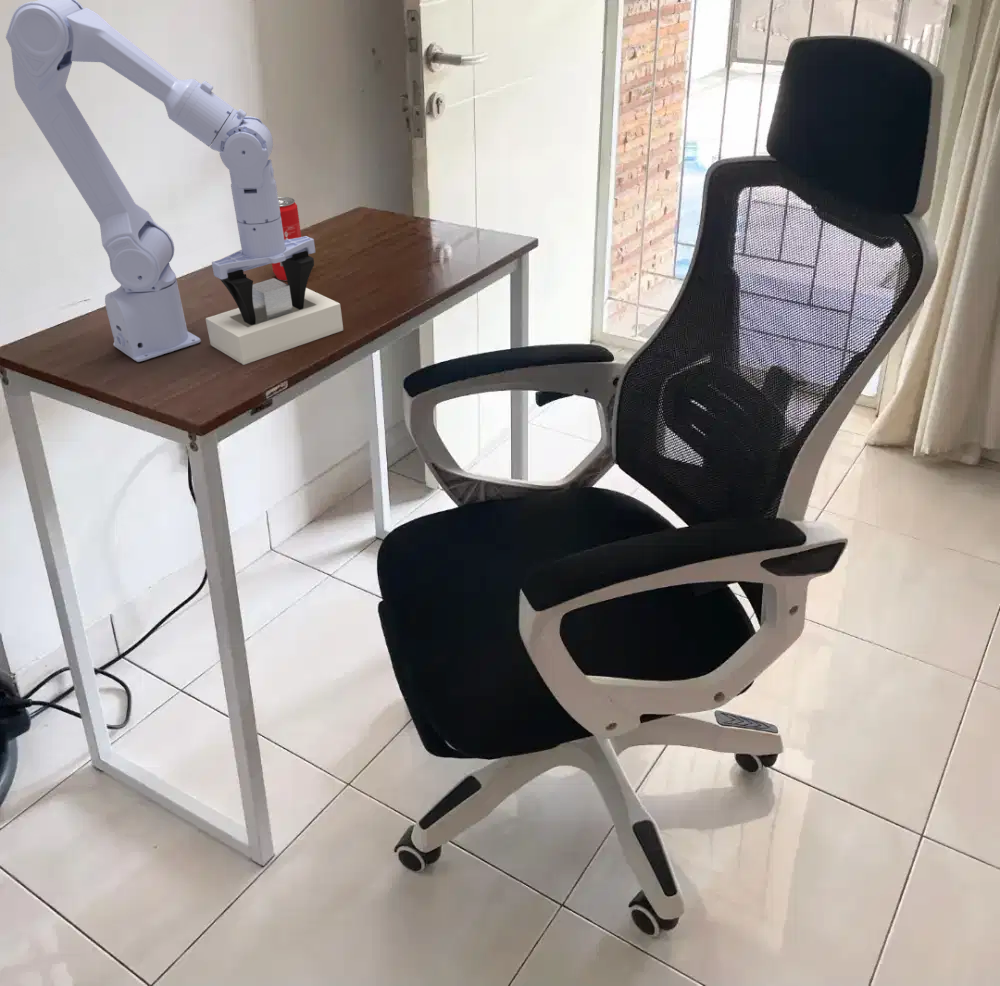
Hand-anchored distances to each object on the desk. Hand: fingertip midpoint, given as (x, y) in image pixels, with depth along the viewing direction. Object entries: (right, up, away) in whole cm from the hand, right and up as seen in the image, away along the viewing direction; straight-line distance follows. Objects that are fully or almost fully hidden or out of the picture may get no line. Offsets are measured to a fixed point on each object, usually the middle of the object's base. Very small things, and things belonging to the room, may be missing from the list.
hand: (274, 314), depth 139 cm
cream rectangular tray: (0, -3, +2) cm, 3 cm away
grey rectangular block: (0, -2, +2) cm, 3 cm away
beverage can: (-2, +10, +23) cm, 25 cm away
